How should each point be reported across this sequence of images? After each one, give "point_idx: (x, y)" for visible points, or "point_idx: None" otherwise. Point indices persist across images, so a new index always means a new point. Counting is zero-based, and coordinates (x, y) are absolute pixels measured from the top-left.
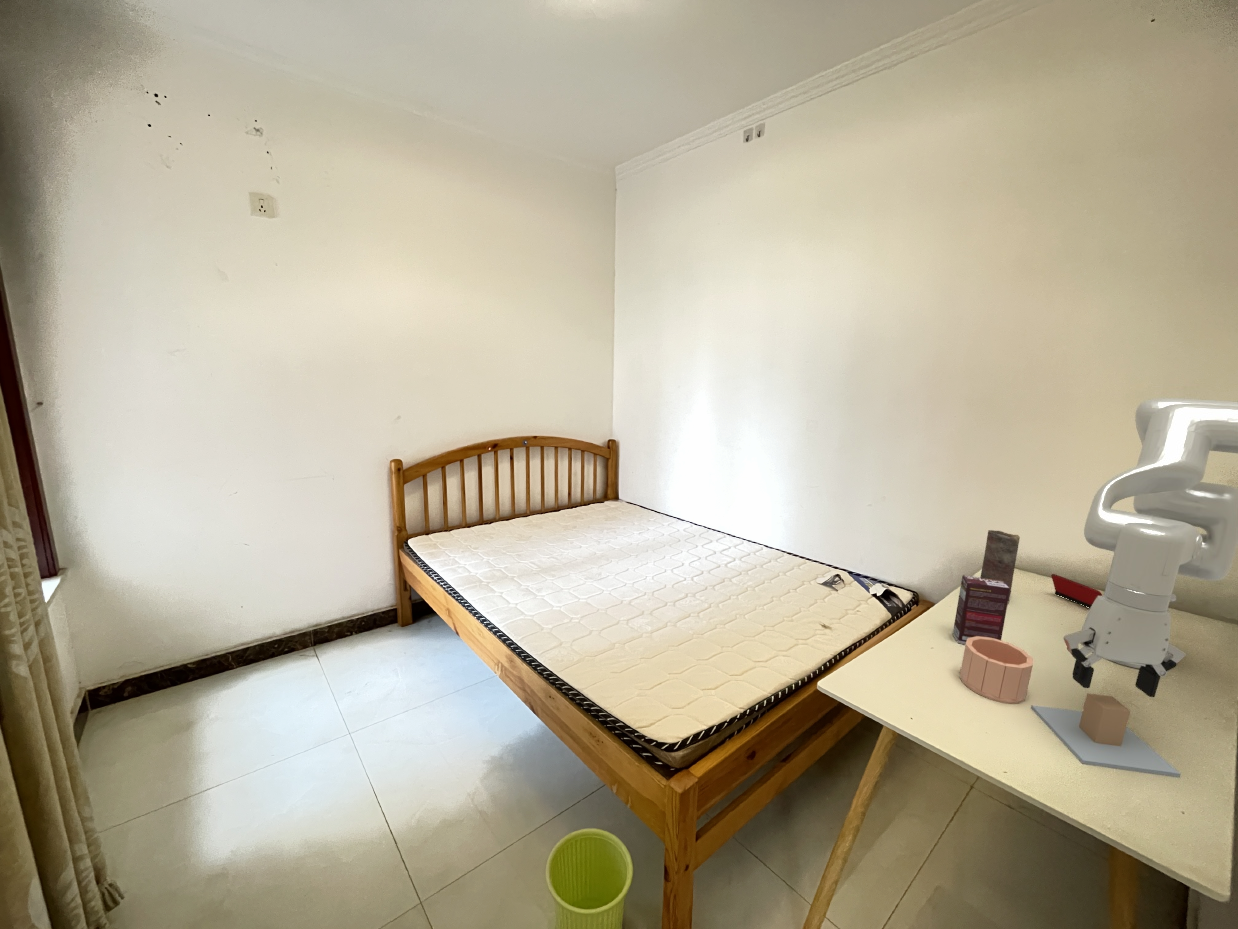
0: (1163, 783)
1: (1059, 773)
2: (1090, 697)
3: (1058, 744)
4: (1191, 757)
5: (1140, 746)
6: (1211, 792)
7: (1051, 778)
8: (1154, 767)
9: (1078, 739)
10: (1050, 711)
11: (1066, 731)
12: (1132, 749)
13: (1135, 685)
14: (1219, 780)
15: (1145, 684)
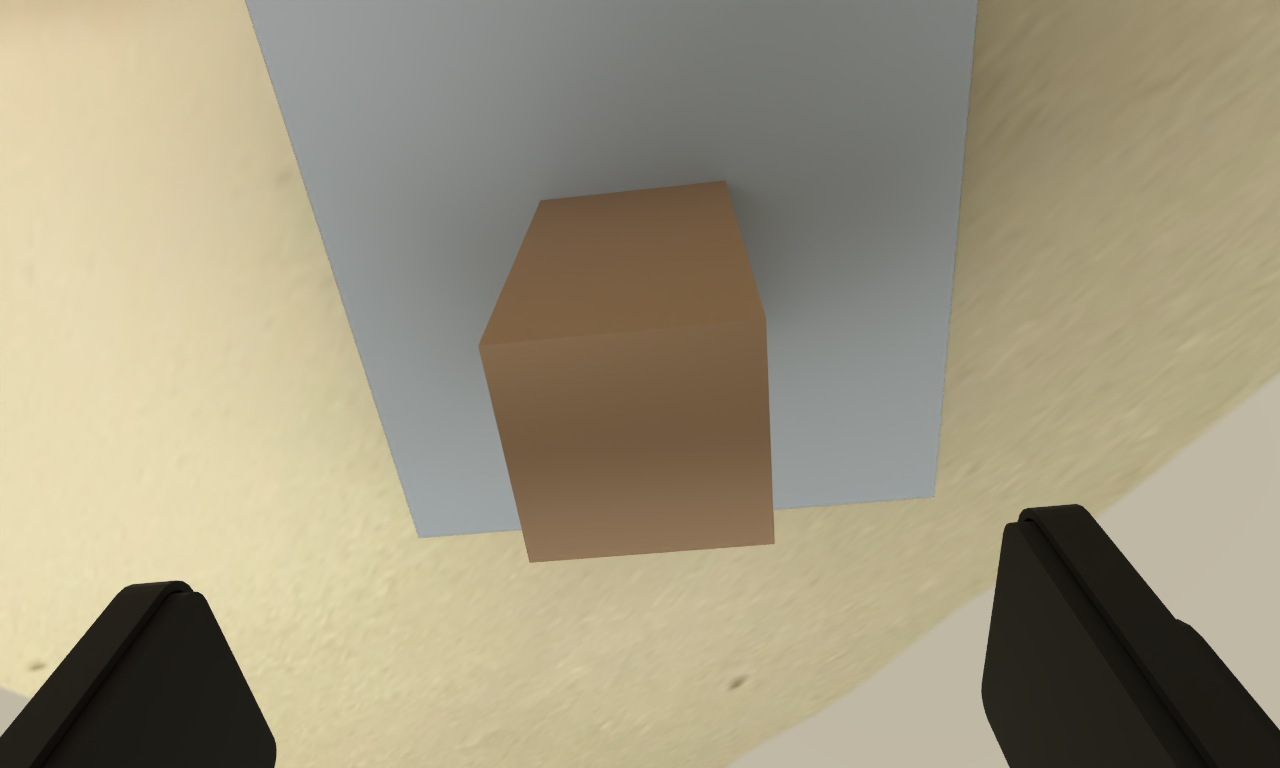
0: (790, 543)
1: (283, 613)
2: (494, 393)
3: (346, 397)
4: (1207, 264)
5: (880, 308)
6: None
7: (238, 650)
8: (810, 489)
9: (470, 359)
10: (383, 30)
11: (420, 292)
12: (795, 356)
13: (1007, 532)
14: (1162, 438)
15: (1051, 739)
